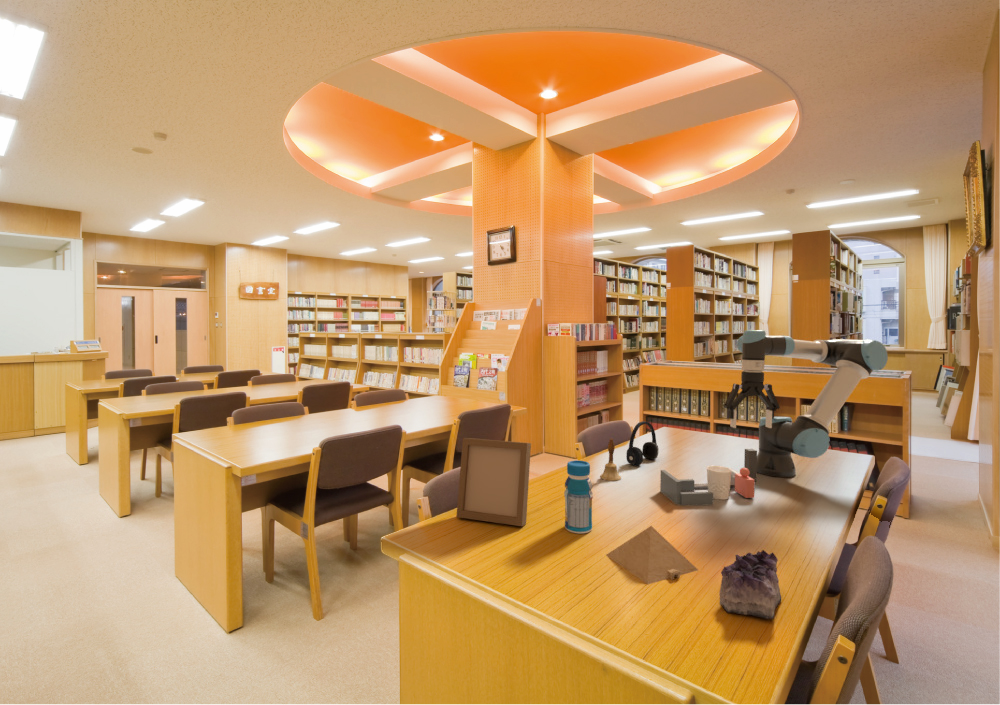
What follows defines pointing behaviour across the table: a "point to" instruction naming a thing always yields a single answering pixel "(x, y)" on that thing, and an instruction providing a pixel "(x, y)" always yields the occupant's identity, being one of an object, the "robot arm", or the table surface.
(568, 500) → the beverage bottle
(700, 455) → the table surface
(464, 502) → the photo frame
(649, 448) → the headphones
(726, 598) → the geode
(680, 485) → the frame
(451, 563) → the table surface
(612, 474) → the hand bell
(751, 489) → the striker slider
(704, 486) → the rail
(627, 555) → the model pyramid
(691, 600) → the table surface
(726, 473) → the white cup
